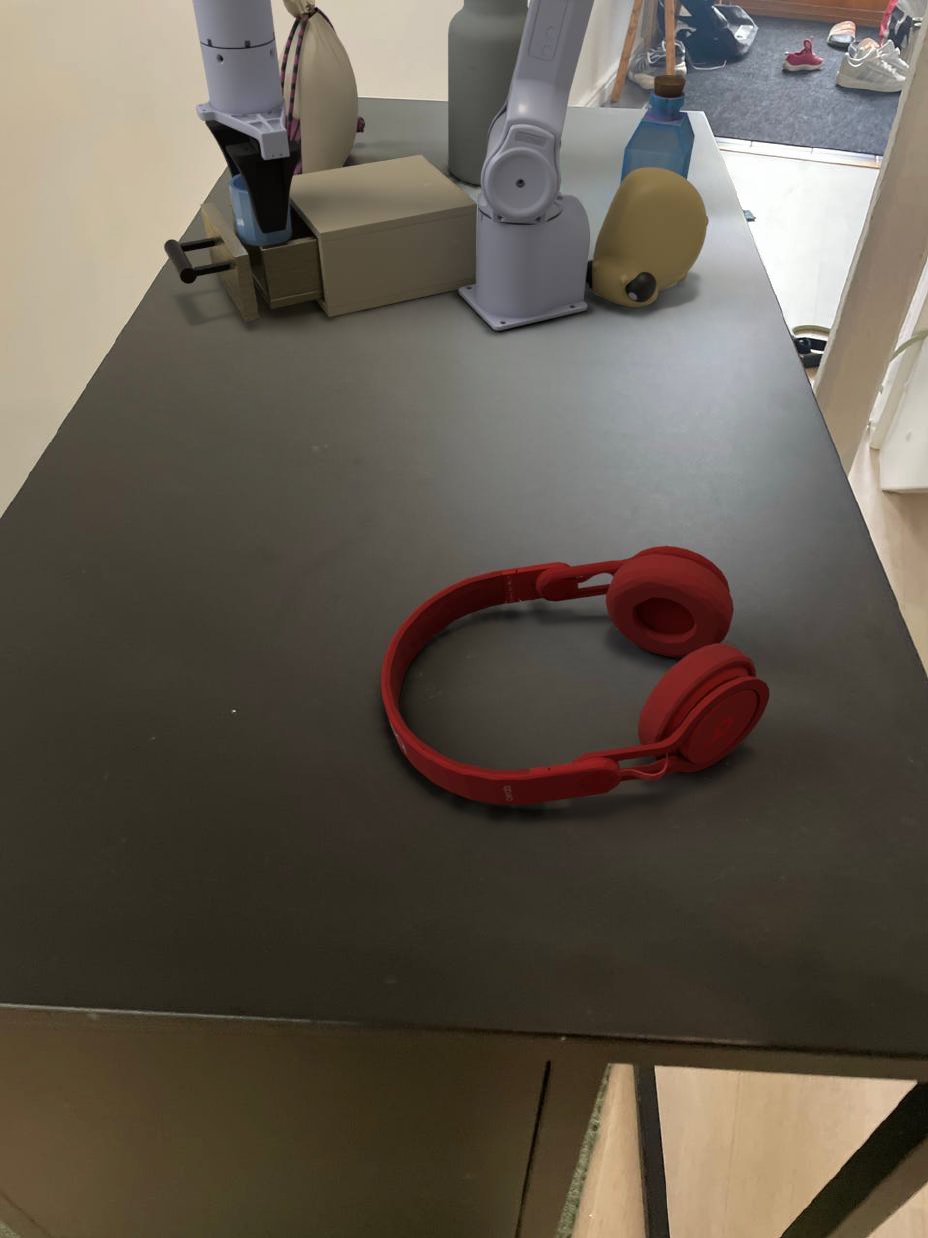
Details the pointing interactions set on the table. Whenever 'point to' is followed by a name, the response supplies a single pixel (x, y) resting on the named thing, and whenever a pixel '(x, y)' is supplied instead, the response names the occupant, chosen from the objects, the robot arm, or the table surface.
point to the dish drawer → (254, 263)
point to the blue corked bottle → (662, 131)
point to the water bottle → (479, 77)
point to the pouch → (318, 90)
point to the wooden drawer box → (387, 232)
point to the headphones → (648, 617)
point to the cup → (253, 218)
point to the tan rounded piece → (647, 237)
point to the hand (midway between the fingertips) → (264, 217)
